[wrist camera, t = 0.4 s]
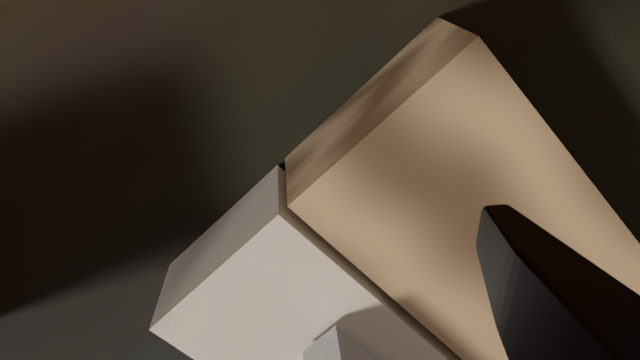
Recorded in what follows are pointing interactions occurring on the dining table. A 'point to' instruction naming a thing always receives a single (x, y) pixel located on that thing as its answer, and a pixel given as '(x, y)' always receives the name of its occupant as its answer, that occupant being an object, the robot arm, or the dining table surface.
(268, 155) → the dining table surface
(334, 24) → the dining table surface
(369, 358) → the bar
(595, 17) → the dining table surface
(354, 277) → the jamb
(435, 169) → the stepped wooden block
